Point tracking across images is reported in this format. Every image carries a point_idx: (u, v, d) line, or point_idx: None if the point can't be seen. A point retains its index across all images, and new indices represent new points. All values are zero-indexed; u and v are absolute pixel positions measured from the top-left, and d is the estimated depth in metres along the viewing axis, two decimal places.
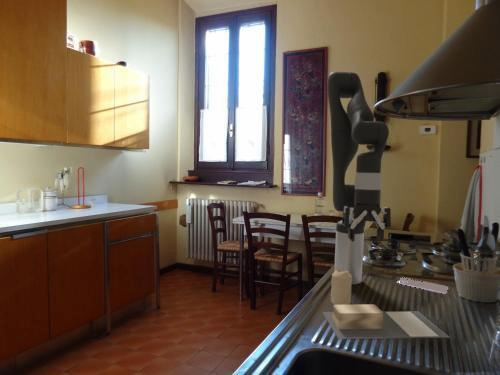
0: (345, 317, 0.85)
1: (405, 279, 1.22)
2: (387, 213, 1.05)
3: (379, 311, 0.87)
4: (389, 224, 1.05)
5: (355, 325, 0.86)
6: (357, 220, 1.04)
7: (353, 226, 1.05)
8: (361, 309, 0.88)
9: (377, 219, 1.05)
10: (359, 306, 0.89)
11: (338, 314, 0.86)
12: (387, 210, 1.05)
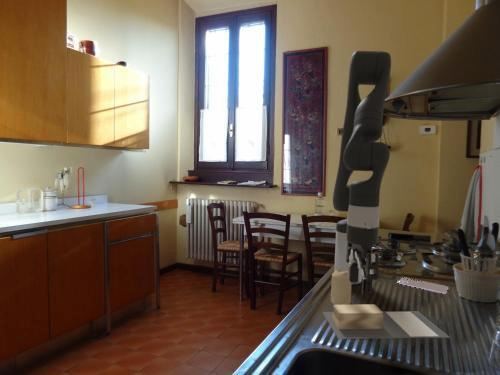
0: (345, 317, 0.85)
1: (405, 279, 1.22)
2: None
3: (379, 311, 0.87)
4: None
5: (355, 325, 0.86)
6: None
7: None
8: (361, 309, 0.88)
9: None
10: (359, 306, 0.89)
11: (338, 314, 0.86)
12: None
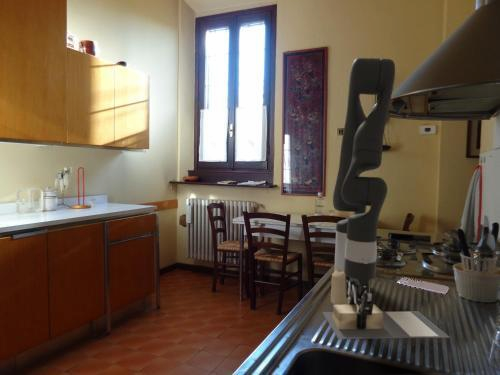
0: (345, 317, 0.85)
1: (405, 279, 1.22)
2: None
3: (379, 311, 0.87)
4: None
5: (355, 325, 0.86)
6: None
7: None
8: None
9: None
10: None
11: (338, 314, 0.86)
12: None
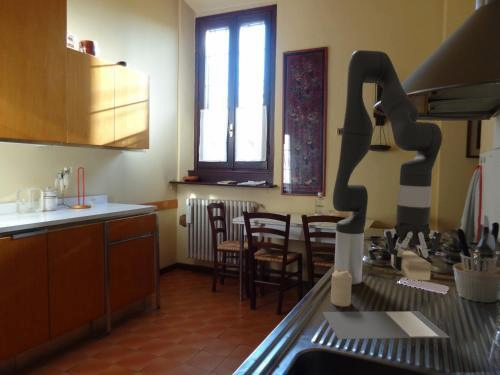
0: None
1: (405, 279, 1.22)
2: None
3: (408, 251, 0.92)
4: None
5: None
6: None
7: None
8: (409, 255, 0.89)
9: None
10: (403, 255, 0.89)
11: (429, 265, 0.82)
12: None
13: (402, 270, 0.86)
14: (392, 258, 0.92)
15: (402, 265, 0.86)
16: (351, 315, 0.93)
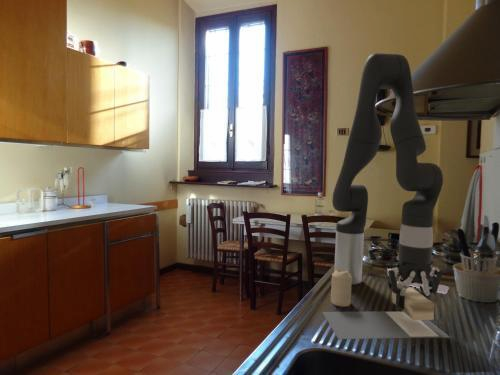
0: None
1: None
2: None
3: (409, 287, 0.93)
4: None
5: None
6: None
7: None
8: (411, 293, 0.89)
9: None
10: (405, 293, 0.89)
11: (432, 305, 0.83)
12: None
13: (405, 309, 0.87)
14: (393, 294, 0.93)
15: (405, 304, 0.87)
16: (351, 315, 0.93)
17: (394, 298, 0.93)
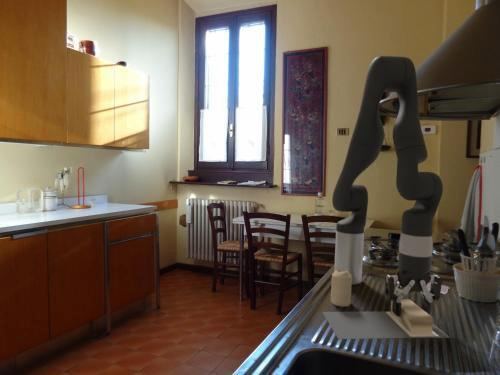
0: None
1: None
2: None
3: (408, 300, 0.94)
4: None
5: None
6: None
7: None
8: (410, 306, 0.90)
9: None
10: (403, 306, 0.90)
11: (431, 319, 0.84)
12: None
13: (404, 323, 0.87)
14: None
15: (404, 318, 0.87)
16: (351, 315, 0.93)
17: None
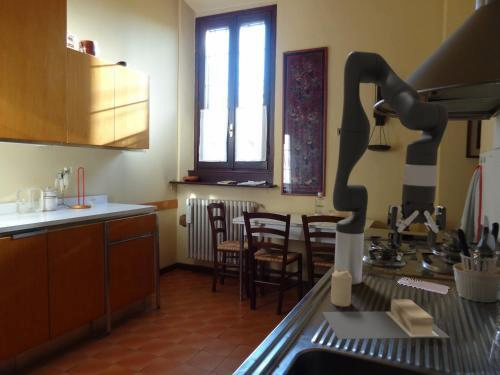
0: None
1: (405, 279, 1.22)
2: None
3: (408, 300, 0.94)
4: None
5: None
6: None
7: None
8: (410, 306, 0.90)
9: None
10: (403, 306, 0.90)
11: (431, 319, 0.84)
12: None
13: (404, 323, 0.87)
14: (392, 307, 0.94)
15: (404, 318, 0.87)
16: (351, 315, 0.93)
17: (393, 311, 0.93)
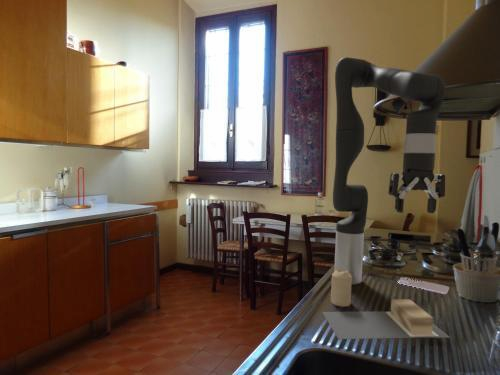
0: None
1: (405, 279, 1.22)
2: None
3: (408, 300, 0.94)
4: None
5: None
6: None
7: None
8: (410, 306, 0.90)
9: None
10: (403, 306, 0.90)
11: (431, 319, 0.84)
12: None
13: (404, 323, 0.87)
14: (392, 307, 0.94)
15: (404, 318, 0.87)
16: (351, 315, 0.93)
17: (393, 311, 0.93)
